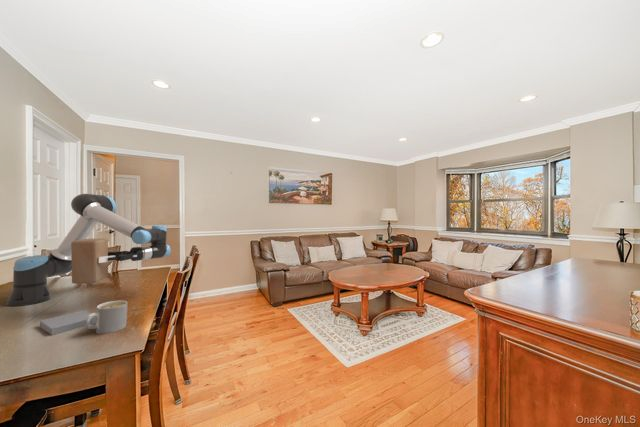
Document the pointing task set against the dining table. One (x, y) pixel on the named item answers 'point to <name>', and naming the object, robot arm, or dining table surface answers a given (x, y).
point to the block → (89, 260)
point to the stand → (65, 322)
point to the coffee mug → (109, 317)
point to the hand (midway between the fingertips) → (92, 258)
